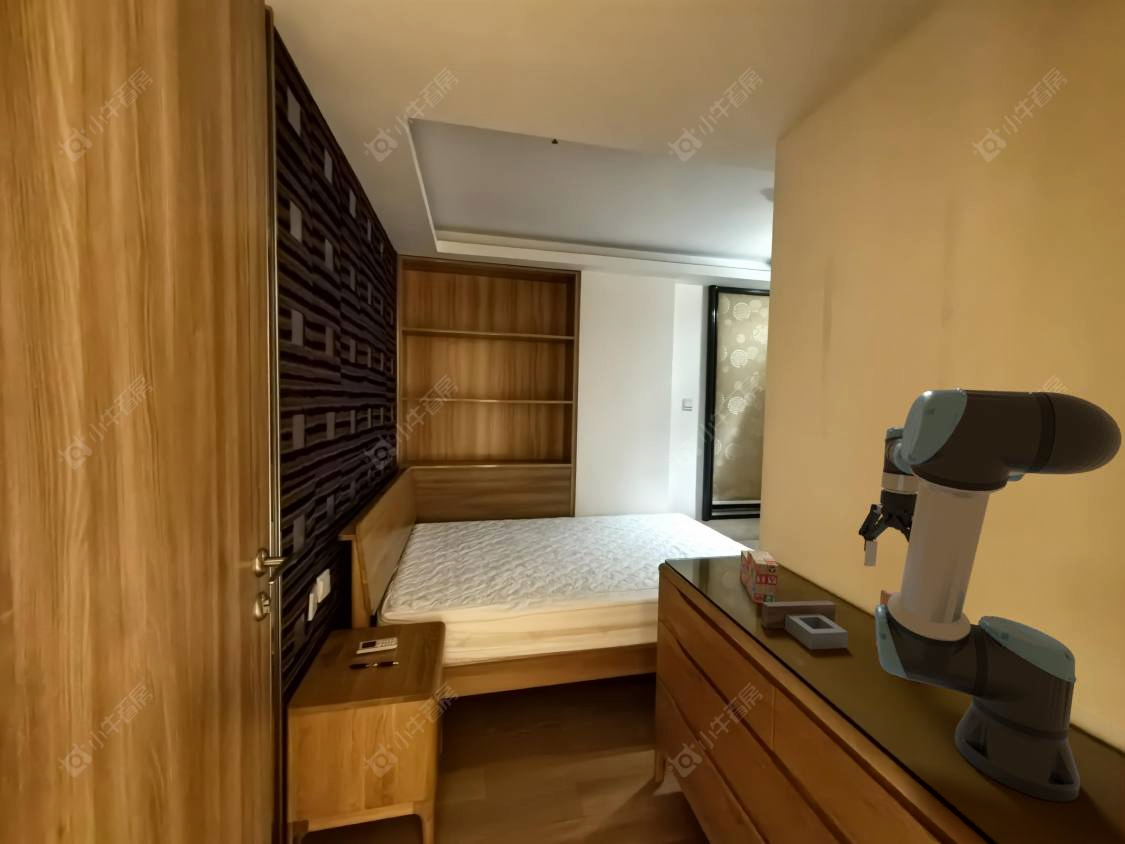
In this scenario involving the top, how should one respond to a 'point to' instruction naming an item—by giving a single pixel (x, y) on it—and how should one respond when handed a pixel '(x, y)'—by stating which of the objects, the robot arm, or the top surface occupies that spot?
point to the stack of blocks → (759, 575)
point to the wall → (794, 611)
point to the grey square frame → (816, 631)
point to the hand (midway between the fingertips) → (892, 576)
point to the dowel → (885, 597)
